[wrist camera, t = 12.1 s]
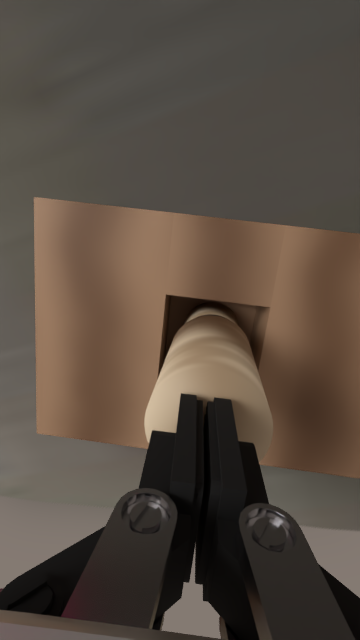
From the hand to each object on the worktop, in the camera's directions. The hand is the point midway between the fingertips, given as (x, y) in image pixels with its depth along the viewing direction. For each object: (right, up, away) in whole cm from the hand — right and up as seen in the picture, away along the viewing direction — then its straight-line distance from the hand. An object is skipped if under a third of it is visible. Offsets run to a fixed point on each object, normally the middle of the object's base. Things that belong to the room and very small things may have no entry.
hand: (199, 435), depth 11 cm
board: (+1, +3, +13) cm, 13 cm away
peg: (+1, +3, +12) cm, 12 cm away
